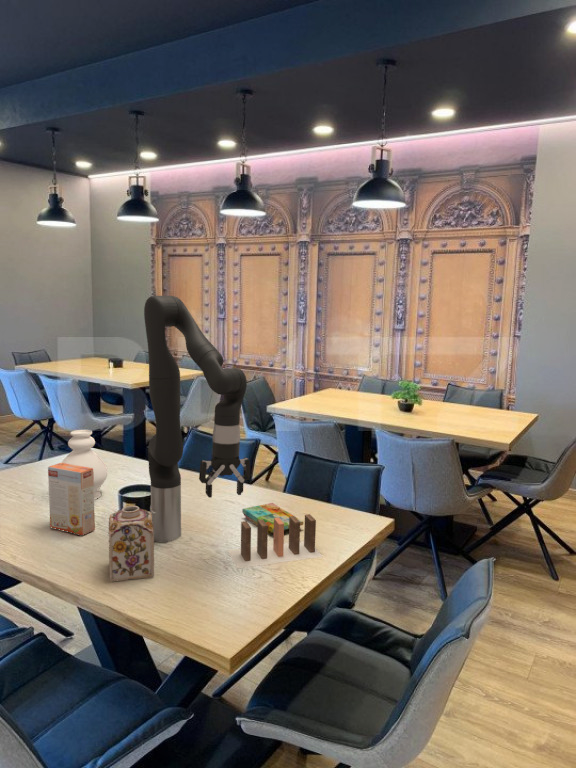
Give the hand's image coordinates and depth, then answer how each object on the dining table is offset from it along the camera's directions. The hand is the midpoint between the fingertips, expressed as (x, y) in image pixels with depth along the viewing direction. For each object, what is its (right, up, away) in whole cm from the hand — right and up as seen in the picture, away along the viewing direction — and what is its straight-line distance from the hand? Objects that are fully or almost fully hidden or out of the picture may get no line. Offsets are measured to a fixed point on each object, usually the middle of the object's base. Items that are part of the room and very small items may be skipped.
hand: (224, 495), depth 159 cm
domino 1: (+6, -19, +5) cm, 20 cm away
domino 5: (+24, -19, +12) cm, 33 cm away
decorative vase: (-59, -11, +53) cm, 80 cm away
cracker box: (-52, -16, +23) cm, 58 cm away
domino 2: (+10, -19, +7) cm, 23 cm away
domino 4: (+20, -19, +10) cm, 29 cm away
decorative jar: (-25, -20, -4) cm, 33 cm away
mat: (+14, -19, +8) cm, 25 cm away
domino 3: (+15, -19, +8) cm, 25 cm away
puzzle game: (+13, -16, +30) cm, 37 cm away
